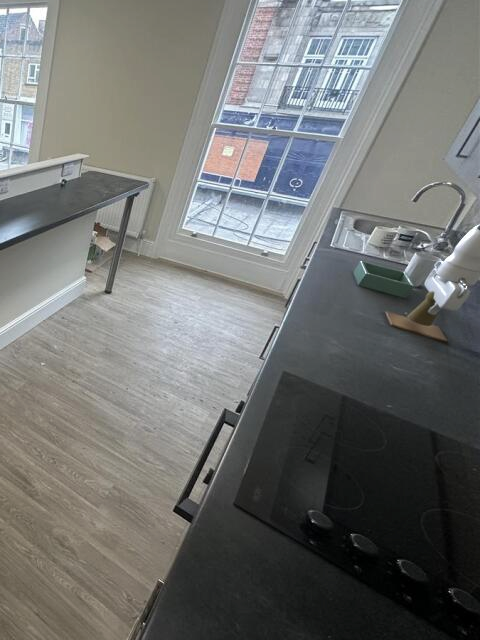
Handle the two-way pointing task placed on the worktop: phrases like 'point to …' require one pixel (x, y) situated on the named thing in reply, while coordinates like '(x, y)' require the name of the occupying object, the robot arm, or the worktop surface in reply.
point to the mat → (415, 326)
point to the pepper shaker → (424, 311)
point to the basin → (383, 279)
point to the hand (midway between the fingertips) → (428, 309)
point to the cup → (420, 267)
